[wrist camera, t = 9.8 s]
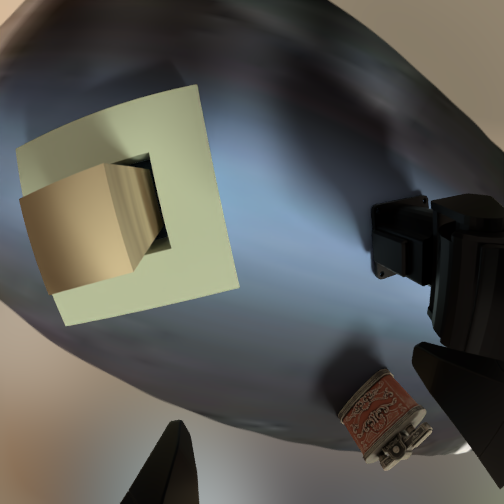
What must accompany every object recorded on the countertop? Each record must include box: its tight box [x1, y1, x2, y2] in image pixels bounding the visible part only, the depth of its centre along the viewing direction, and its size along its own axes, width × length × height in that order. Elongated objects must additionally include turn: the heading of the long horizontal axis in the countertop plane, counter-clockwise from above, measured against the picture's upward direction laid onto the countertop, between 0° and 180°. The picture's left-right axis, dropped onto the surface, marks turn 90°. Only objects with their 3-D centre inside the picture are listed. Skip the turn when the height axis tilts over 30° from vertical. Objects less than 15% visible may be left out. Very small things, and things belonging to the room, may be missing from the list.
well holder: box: [16, 84, 240, 326], centre depth 16 cm, size 12×12×4 cm
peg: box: [19, 163, 164, 295], centre depth 14 cm, size 4×4×10 cm
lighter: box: [338, 369, 432, 470], centre depth 23 cm, size 8×3×10 cm, turn 145°
